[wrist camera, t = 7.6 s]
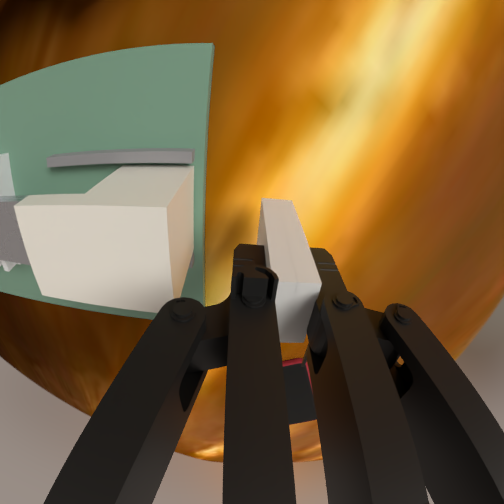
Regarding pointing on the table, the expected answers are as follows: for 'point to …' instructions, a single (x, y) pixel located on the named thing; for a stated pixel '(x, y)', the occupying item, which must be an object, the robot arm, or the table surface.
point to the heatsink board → (106, 137)
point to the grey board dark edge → (11, 232)
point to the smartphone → (298, 392)
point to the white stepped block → (114, 238)
